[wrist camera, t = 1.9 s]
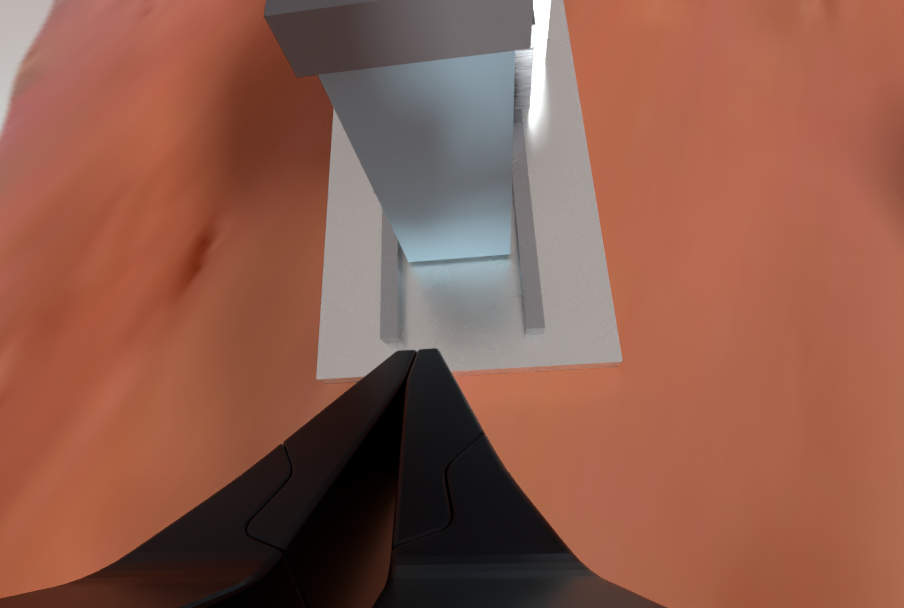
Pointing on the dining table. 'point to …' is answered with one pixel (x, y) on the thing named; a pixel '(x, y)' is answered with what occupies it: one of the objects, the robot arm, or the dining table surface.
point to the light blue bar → (421, 108)
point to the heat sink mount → (487, 277)
